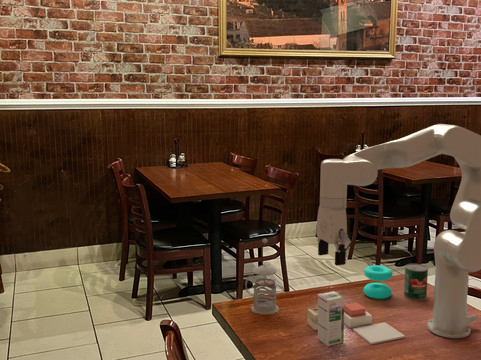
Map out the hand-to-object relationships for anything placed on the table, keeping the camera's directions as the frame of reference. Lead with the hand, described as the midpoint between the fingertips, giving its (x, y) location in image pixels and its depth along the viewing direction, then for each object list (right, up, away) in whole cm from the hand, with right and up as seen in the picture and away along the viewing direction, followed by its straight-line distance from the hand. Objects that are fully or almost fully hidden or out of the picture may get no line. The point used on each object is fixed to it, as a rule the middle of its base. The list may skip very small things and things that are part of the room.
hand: (331, 259), depth 153 cm
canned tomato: (+37, -19, +38) cm, 56 cm away
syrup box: (0, -25, +4) cm, 26 cm away
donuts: (+24, -19, +39) cm, 49 cm away
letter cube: (-2, -23, +15) cm, 28 cm away
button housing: (+10, -23, +17) cm, 30 cm away
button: (+10, -21, +17) cm, 29 cm away
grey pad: (+16, -24, +8) cm, 30 cm away
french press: (-19, -21, +28) cm, 40 cm away
